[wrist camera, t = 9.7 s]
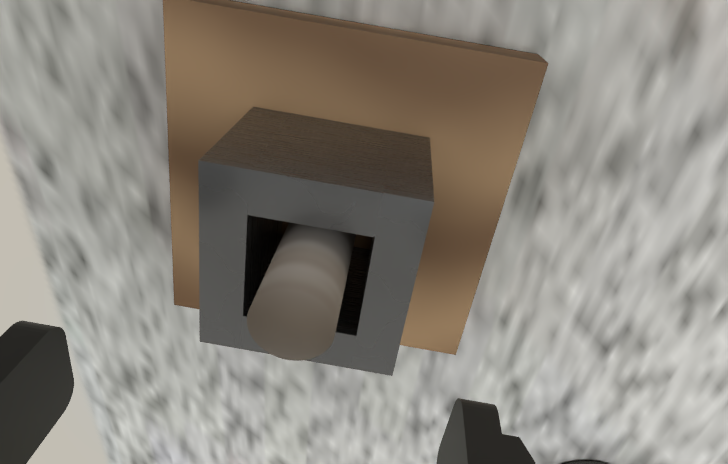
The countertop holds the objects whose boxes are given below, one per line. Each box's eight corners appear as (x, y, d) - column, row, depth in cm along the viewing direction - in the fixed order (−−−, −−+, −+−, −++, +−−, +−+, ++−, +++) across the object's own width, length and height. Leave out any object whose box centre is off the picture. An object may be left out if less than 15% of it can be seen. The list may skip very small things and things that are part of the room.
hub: (253, 106, 17) (198, 160, 13) (429, 137, 17) (434, 202, 13) (246, 256, 20) (199, 341, 16) (397, 283, 20) (392, 375, 16)
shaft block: (182, -8, 17) (4, 27, 10) (538, 54, 17) (630, 136, 10) (187, 284, 23) (79, 444, 16) (453, 331, 23) (470, 514, 16)
